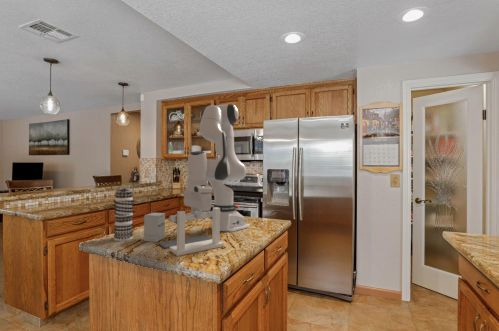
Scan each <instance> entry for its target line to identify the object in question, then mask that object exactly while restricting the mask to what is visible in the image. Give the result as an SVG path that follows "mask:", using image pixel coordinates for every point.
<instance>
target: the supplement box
mask: <svg viewBox="0 0 499 331" xmlns="http://www.w3.org/2000/svg"><path fill="white" fill-rule="evenodd" d="M143 220H144V221H143V224H144V225H143V241H144V242H152V243H153V242H154V243H157V242H159V241H161V240H163V239H165V238H166V236H165V235H166V233H165V232H166V229H165V228H166V213H165V212H150V213H148V214H144V218H143Z"/></svg>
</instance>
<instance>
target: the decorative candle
mask: <svg viewBox="0 0 499 331" xmlns="http://www.w3.org/2000/svg"><path fill="white" fill-rule="evenodd" d="M114 192H115V199H114V200H113V203H114V205H113V207H114V208H113V210H114V212H113V214H114V217H115V218H114V220H115V221H114V229H113V230H114V231H113V237H114V238H113V240H114V241H116V242H124V241H130V240H132V239H133V238H134V237H133V235H134V233H133V232H134V231H133V229H134V227H133V225H134V224H133V215H134V210H133V209H134V207H133V206H134V205H135V203H134V202H135V200H134V199H133V190H132V189H131V188H130V187H119V188H117V189H116V191H114Z"/></svg>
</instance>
